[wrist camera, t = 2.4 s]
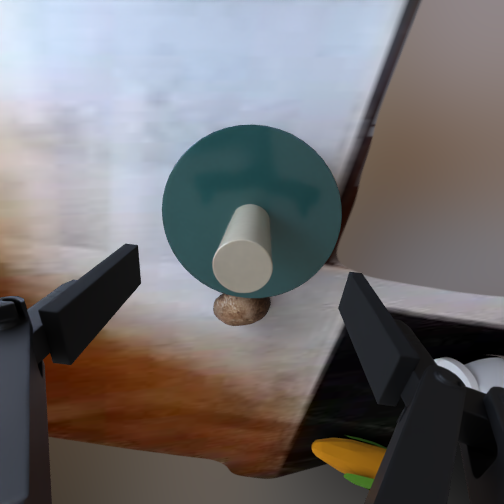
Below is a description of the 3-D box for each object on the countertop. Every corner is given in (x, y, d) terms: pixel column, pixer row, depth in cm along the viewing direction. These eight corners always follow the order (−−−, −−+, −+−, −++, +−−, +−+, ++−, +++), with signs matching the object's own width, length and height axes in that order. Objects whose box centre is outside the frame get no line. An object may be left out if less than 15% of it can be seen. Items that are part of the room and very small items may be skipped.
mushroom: (217, 268, 33) (223, 315, 30) (272, 267, 36) (283, 310, 33) (206, 293, 40) (210, 334, 36) (254, 291, 43) (262, 328, 39)
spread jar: (501, 385, 44) (576, 465, 33) (430, 399, 46) (479, 478, 35) (498, 333, 39) (583, 407, 29) (420, 352, 42) (472, 427, 31)
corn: (403, 511, 48) (305, 484, 46) (384, 464, 55) (299, 439, 53) (426, 489, 45) (324, 460, 43) (404, 443, 52) (314, 416, 50)
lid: (138, 152, 24) (57, 164, 15) (327, 100, 21) (373, 75, 12) (197, 303, 31) (168, 376, 22) (346, 277, 28) (384, 347, 19)
